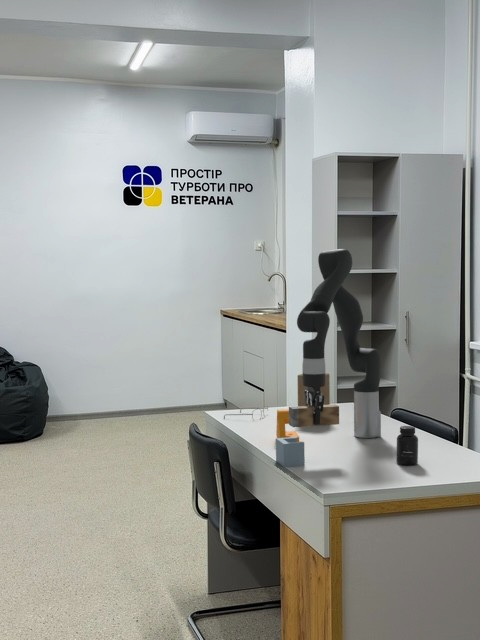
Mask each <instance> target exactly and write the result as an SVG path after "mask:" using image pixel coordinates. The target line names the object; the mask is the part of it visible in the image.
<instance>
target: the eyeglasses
mask: <svg viewBox="0 0 480 640" xmlns="http://www.w3.org/2000/svg"><path fill="white" fill-rule="evenodd" d="M242 410H254V411H256V410H260V418H259V419H262V413H263V416H264V417H266V415H265V410H269V406H268V405H267V404H266V405H265V406H264V407H252V408H251V407H248V408H247V407H246V408H245V407H242V408H240V411H239V413H237V414H235V413H233V414H232V413H229V414H227V413H226V414H224V415H223V419H226V416H251V418H252V420H253V422H255V419H254V417H253V416H254V412H251V413H245V414H244V413H243V414H242Z"/></svg>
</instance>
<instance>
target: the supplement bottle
mask: <svg viewBox="0 0 480 640" xmlns="http://www.w3.org/2000/svg"><path fill="white" fill-rule="evenodd" d="M418 462H419V438H418V436H417V435H416V427H414V426H413V425H401V426H400V427H399V434H398V435H397V437H396V463H397V464H398V465H400V466H405V467H406V466H407V467H411V466H417V465H418Z"/></svg>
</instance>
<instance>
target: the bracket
mask: <svg viewBox="0 0 480 640" xmlns="http://www.w3.org/2000/svg"><path fill="white" fill-rule="evenodd" d="M286 425H289V408H288V409H287V408H286V409H285V408H283V409H282V408H281V409H277V410H276V438H288V437H297V442H300V436H299V434H298V432H297V431H293V430H289V431H288V430H287V431H286Z"/></svg>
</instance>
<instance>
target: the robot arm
mask: <svg viewBox="0 0 480 640" xmlns="http://www.w3.org/2000/svg"><path fill="white" fill-rule="evenodd" d="M317 259H318V261H317V262H318V267H319V271H320V273H321V276H322V279H323V281H321V282H320V283H319V285H317V287H316V288H315V290H314V292H313V294H312V296H311V299H310V301H309V302H307V304H306V305H305V306H304V307H303V308H302V309H301V311H300V312H299V314H298V316H297V319H296V325H297V328H298V330H299V331H300V332H302V333H316V335H315V338H311V339H306V340H304V341H303V344H302V368H301V369H302V373H301V374H302V376H303V386H305V387H308V389H307V390H305V391H304V394H305V403H306V406H312V408H313V424H314V425H319V424H320V413H321V412H323V405H324V395H322V393H321V390H320V388H321V387H323V386H325V373H326V359H325V358H326V357H325V344H326V338H327V336H328V331H329V328H330V324H331V323H330V322H331V321H330V319H331V318H330V316H329V314H328V313H329V312H330V309H331V307H332V305H333V309H334V312H335V315H336V320H337V322H338V325H339V328H340V330H341V333H342V334H341V335H342V338H343V341H344V346H345V350H346V355H347V360H348V364H349V367H350V368H351V370H352V371H353V372H356V373H363V374H364V373H365V378H364V379H362V380H359V381H356V382H354V384H353V426H354V427H353V436H355V437H356V438H361V439H373V438H378V437H381V436H382V412H381V410H380V406H379V405H380V403H379V401H380V399H379V394H380V393H379V391H380V390H379V388H380V387H379V386H380V381H381V365H382V360H381V354H380V352H379V350H378V349H376V348H365V347H361V346H360V344H359V333H360V331H361V328H362V325H363V322H364V314H363V311H362V308H361V305H360V303H359V300H358V299H357V298H356V296H354V294H352V293H351V292H350V291H349V290H348V289H346V287H345V286H343V283H344V282H345V280H346V279H347V278H348V276H349V275H350V273H351V270H352V266H353V258H352V254H351V253H350V251H349V250H348V249H346V248H339V249H338V248H337V249H331V250H330V249H329V250H323V251H321V252H320V253H319V255H318V258H317ZM317 408H318V409H317Z"/></svg>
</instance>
